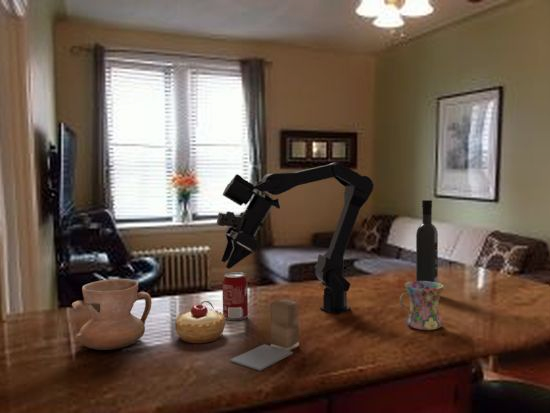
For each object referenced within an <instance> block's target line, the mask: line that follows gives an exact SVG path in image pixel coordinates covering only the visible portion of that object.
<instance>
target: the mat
mask: <svg viewBox="0 0 550 413" xmlns="http://www.w3.org/2000/svg"><path fill="white" fill-rule="evenodd" d="M293 353H294V352H293V351H292V350H289V351H287V350H284V349H280V348H276V347H273V346H271V345H268V344H262V345H259V346H257V347H255V348H253V349H251V350H248V351H246V352H244V353H242V354H240V355H237V356H234V358H231V359H230V362H231V363H234V364H237V365H240V366H244V367H247V368H250V369H253V370H256V371H260V372H261V371H262V370H265V369H266V368H268V367H270V366H272V365H274V364H275V363H277V362H280V361H281V360H284V359H285V358H287V357H290V356H291V355H293Z"/></svg>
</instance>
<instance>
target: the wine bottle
mask: <svg viewBox="0 0 550 413" xmlns="http://www.w3.org/2000/svg"><path fill="white" fill-rule="evenodd" d="M421 203H422V204H421V208H422V212H421V215H422V223H421V224H420V225H419V226H418V227H417V229H416V233H415V234H416V235H415V237H416V238H415V240H416V241H415V245H416V246H415V248H416V249H415V253H416V254H415V258H416V259H415V264H416V265H415V266H416V268H415V272H416V273H415V281H430V282H436V283H439V282H438V281H439V280H438V275H439V272H438V269H439V267H438V266H439V264H438V263H439V262H438V261H439V260H438V256H439V255H438V254H439V250H438V246H439V242H438V240H439V238H438V235H439V234H438V229H437V227H436V225H434V224H433V223H432V222H433V221H432V218H433V217H432V216H433V213H432V212H433V211H432V210H433V200H431V199H429V200H428V199H424V200H421Z"/></svg>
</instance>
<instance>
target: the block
mask: <svg viewBox="0 0 550 413" xmlns="http://www.w3.org/2000/svg"><path fill="white" fill-rule="evenodd" d="M269 306H270V307H269V312H270V313H269V314H270V315H269V316H270V318H269V319H270V320H269V321H270V322H269V324H270V346H273V347H276V348H280V349H284V350H287V351H292V350H294V349H296V348H297V347H299V344H300V339H299V338H300V331H299V329H300V328H299V327H300V326H299V301H294V300H289V299H284V298H283V299H282V298H281V299H279V300H276V301H273V302H271V303H269Z"/></svg>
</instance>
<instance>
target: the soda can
mask: <svg viewBox="0 0 550 413" xmlns="http://www.w3.org/2000/svg"><path fill="white" fill-rule="evenodd" d="M223 275H224V278H223V280H222V281H221V282H222V284H221V285H222V290H221V291H222V314H223V315H224V316H225V320H228V321H231V322H236V321H243V320H244V319H245V318H246V319H247V317H248V316H249V306H248V305H249V304H248V303H249V302H248V301H249V300H248V298H249V297H248V294H249V293H248V280H247V278H246V274H245V273H243V272H227V273H225V274H223Z"/></svg>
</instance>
